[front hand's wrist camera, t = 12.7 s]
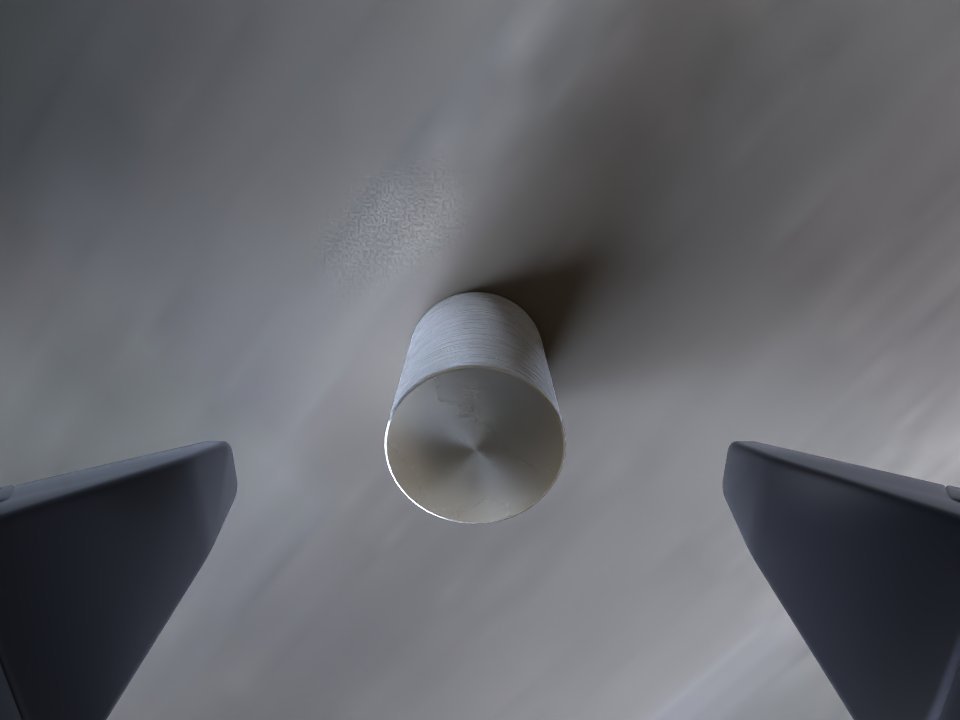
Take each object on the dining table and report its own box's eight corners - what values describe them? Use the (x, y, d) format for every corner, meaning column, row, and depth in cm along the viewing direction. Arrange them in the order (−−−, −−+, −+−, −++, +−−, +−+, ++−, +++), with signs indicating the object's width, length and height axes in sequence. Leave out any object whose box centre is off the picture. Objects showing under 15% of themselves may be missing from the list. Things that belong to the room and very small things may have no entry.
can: (563, 385, 17) (593, 487, 12) (445, 433, 17) (433, 548, 13) (510, 268, 16) (522, 335, 11) (386, 325, 16) (350, 410, 12)
